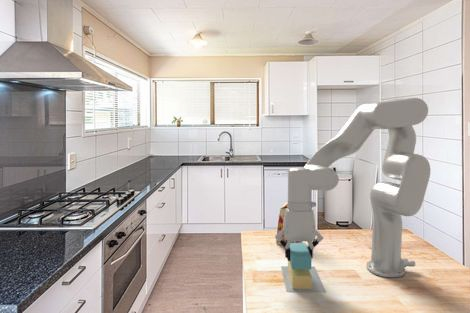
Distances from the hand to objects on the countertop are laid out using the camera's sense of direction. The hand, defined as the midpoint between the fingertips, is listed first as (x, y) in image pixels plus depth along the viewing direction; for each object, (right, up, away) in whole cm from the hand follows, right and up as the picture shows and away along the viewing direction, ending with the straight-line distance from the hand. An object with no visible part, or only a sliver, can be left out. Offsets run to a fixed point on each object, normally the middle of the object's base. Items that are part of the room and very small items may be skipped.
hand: (298, 259), depth 109 cm
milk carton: (+3, -5, +37) cm, 37 cm away
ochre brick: (0, -7, +1) cm, 7 cm away
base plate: (+1, -8, +2) cm, 8 cm away
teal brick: (0, -1, 0) cm, 1 cm away
